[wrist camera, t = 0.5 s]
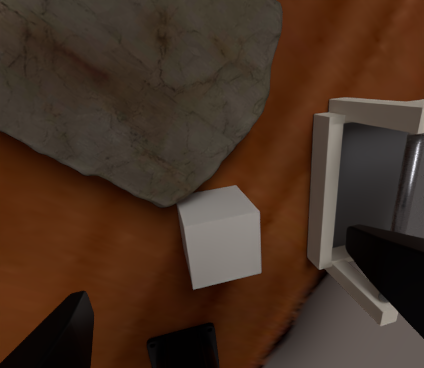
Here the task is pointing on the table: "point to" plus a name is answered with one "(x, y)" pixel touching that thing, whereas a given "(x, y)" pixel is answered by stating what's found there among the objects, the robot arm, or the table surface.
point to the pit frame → (356, 184)
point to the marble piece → (136, 85)
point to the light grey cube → (220, 236)
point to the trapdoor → (410, 191)
